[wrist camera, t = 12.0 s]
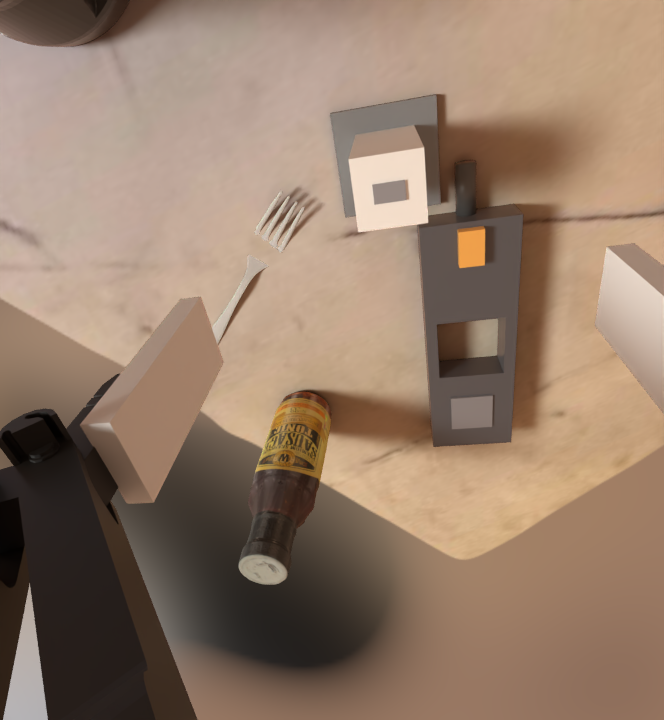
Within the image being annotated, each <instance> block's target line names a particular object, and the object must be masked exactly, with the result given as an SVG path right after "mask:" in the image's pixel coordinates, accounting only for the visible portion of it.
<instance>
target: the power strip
mask: <svg viewBox="0 0 664 720" xmlns="http://www.w3.org/2000/svg"><path fill="white" fill-rule="evenodd" d="M455 189H456V212H452V213H444V214H437V215H430V216H428V223H424V224H417V229H418V244H419V259H420V274H421V288H422V303H423V318H424V332H425V347H426V362H427V377H428V391H429V406H430V421H431V432H432V439H433V447H439V446H455V445H472V444H489V443H506V442H511V434H512V415H513V397H514V378H515V359H516V341H517V322H518V303H519V285H520V266H521V247H522V228H523V214H522V212H521V211H520V210H519V209H518V208H517V207H516V206H515V204H510V205H503V206H495V207H488V208H481V209H476V161H475V160H465V161H460V162H457V163H455ZM496 318H498V348H497V356H491V357H479V358H468V359H457V360H445V361H439V359H438V339H437V324H446V323H456V322H466V321H476V320H486V319H496Z"/></svg>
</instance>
